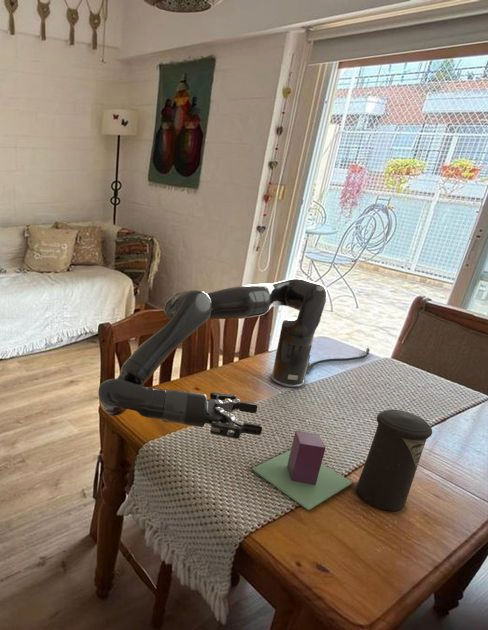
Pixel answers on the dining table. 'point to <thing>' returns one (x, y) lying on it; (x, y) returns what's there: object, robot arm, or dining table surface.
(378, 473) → the container
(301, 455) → the block
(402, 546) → the dining table surface
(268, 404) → the dining table surface
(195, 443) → the dining table surface
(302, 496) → the mat
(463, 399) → the dining table surface
